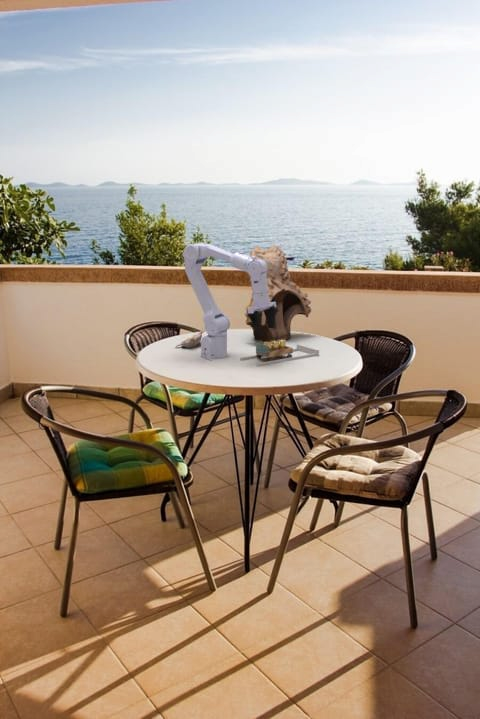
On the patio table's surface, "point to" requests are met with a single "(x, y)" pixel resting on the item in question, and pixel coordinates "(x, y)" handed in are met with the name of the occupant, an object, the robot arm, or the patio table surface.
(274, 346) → the part
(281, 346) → the part
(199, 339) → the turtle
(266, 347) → the cart
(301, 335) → the patio table surface
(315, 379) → the patio table surface
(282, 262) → the bust
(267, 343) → the part
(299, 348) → the track
